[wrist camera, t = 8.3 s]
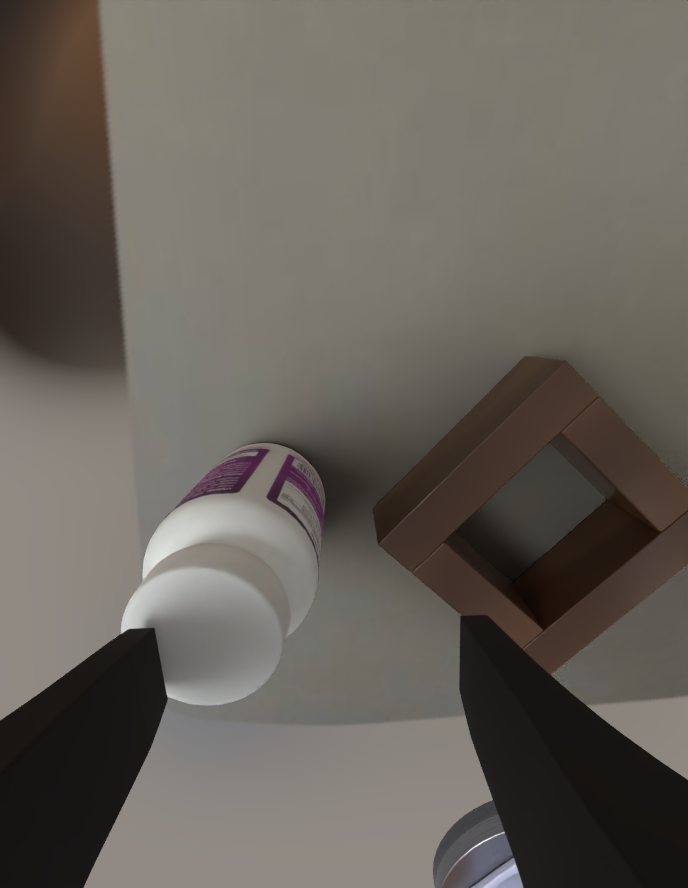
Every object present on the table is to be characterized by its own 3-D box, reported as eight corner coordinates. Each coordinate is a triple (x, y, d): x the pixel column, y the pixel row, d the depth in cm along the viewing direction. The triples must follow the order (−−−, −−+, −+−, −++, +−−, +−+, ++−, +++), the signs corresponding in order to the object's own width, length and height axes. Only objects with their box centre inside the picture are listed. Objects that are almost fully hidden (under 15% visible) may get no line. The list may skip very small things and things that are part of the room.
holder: (663, 497, 20) (729, 531, 16) (509, 628, 21) (540, 683, 18) (525, 355, 18) (565, 360, 15) (372, 508, 20) (377, 544, 16)
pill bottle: (205, 539, 20) (83, 713, 11) (216, 431, 19) (89, 524, 10) (317, 557, 20) (292, 744, 11) (336, 451, 19) (326, 562, 10)
